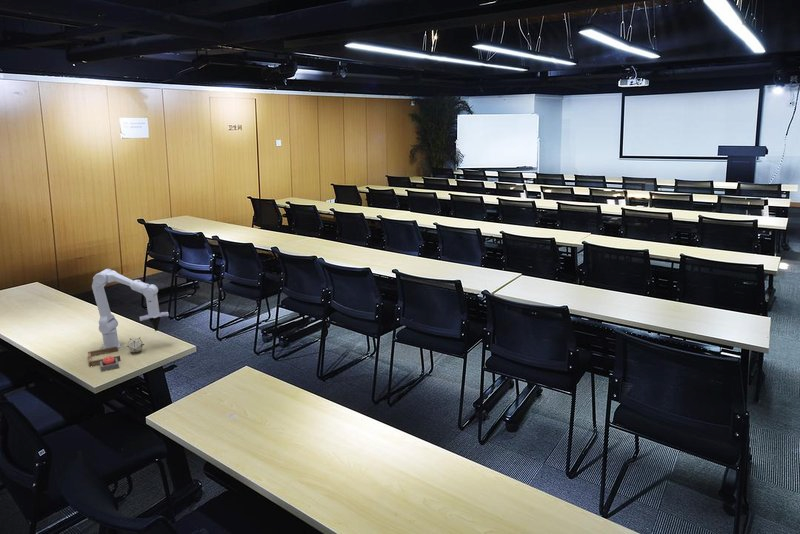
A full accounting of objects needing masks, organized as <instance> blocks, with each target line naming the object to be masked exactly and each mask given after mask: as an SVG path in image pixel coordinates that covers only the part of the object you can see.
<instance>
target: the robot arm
mask: <svg viewBox="0 0 800 534" xmlns="http://www.w3.org/2000/svg"><path fill="white" fill-rule="evenodd" d="M114 282H117V283H119V284H122V285H126V286H129V287H130V289H131V290H132V291H135V292H137V293H140V294H142V295H143V296H144V297H145V302H146V307H147V308H146V309H147V314H145V315H141V316H139V321H140V322H141V321H142V322H143V321H146V320H149V322H150V323H151V325H152V326H153V329H154V331H155V332H158V330H159V326H160V325H159V324H160V321H161V318H162V317H169V316H170V315H169V312H168V311H164V312H163V311H162V312H160V307H159V300H158V292H159V288H158V286H157V285H155V284H154V283H153V284H152V283H151V284H149V283H146V282H143V281H142V280H140V279H131V278H129V277H126V276H124V275H122V274H121V273H118V272H117V271H116V270H112V269H111V268H105V269H104V270H101V271H100V272H97V273H96V274H95V275H94V276H93V277H92V282H91V283H92V284H91V289H92V293H93V295H94V299H95V303H96V306H97V307H96V308H97V310H98V313H99V316H100V317H99V320H98V330H99V332H100V333H101V335H102V340H103V341H102V342H103V344H102V347H103V349H105V348H111V347H116V346H117V347H118V349H119V348H121V344H120V342H119V339H118V337H119V336H118V329H117V328H118V326H119V325H118V324H119V321H118V320H117V319H116V317H115V315H114V314H112V311H111V309H110V305H109V302H108V297H107V294H106V291H105V286H106V285H107V284H110V283H114Z"/></svg>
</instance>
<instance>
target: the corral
mask: <svg viewBox="0 0 800 534" xmlns="http://www.w3.org/2000/svg"><path fill="white" fill-rule="evenodd" d="M118 351H119V348H118V347H117V346H116V347H111V348H105V349H104V348H101V349H96V350H91V351H87V356H88V364H89V367H90V368H91V366H92V367H97V366H100V361H103V359H104V358H100V359H96V360H95V359H94V360H92V357H96V356H101V355H106V354H111V353H115V352H116V353H117V352H118ZM105 353H106V354H105ZM100 354H101V355H100ZM95 355H96V356H95ZM113 357H114V358H117V360H118V362H121V361H122V359H121V355H116V356H113ZM96 365H97V366H96Z"/></svg>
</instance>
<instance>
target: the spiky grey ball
mask: <svg viewBox="0 0 800 534" xmlns="http://www.w3.org/2000/svg"><path fill="white" fill-rule="evenodd" d="M144 345H145V343H143V342H142V340H141V336H139V337H138V338H129V342H128V344H127V345H126V346H125V347H127V348H128V349H129V351H130V354H132V353H137V352H140V353H142V349H143V346H144Z"/></svg>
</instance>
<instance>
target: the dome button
mask: <svg viewBox="0 0 800 534" xmlns="http://www.w3.org/2000/svg"><path fill="white" fill-rule="evenodd" d="M102 359H103V363H104V366H105V365H110V364H114V363H115V361H114V356H110V355H108V356H106V357H104V358H102Z"/></svg>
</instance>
